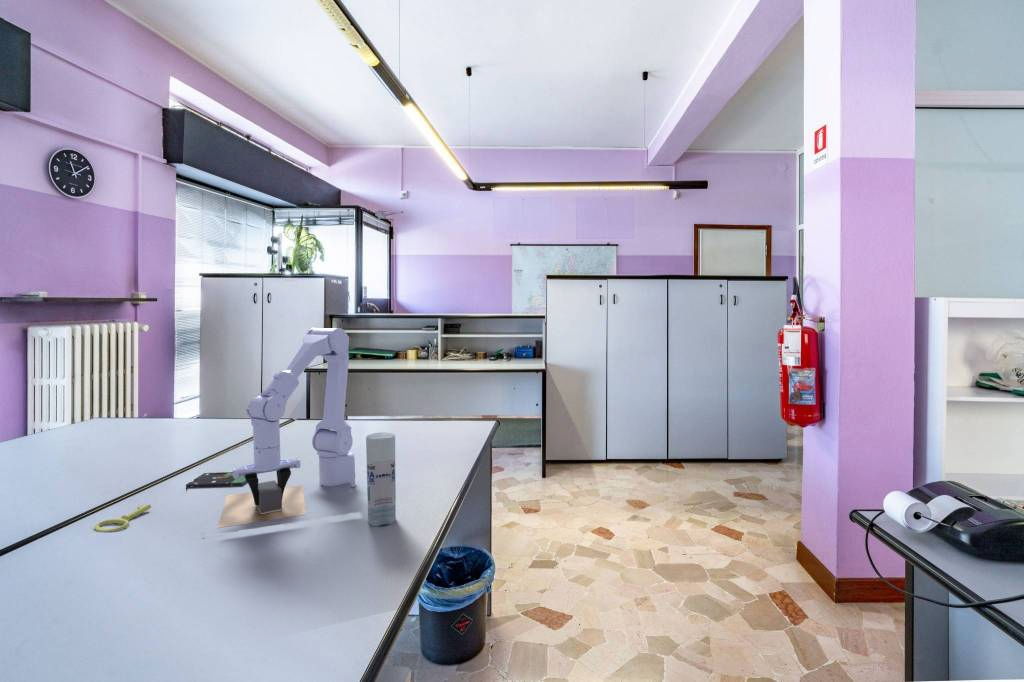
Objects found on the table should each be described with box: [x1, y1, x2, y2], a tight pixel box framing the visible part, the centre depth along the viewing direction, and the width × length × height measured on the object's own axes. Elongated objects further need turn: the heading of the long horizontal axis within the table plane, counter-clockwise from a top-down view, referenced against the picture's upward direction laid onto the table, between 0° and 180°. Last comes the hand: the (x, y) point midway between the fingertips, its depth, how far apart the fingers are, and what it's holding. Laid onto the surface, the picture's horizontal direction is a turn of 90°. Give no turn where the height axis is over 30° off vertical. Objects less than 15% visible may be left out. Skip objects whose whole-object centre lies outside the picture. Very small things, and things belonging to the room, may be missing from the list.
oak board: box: [217, 485, 307, 529], centre depth 125 cm, size 18×22×1 cm
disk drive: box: [185, 471, 258, 492], centre depth 143 cm, size 10×3×15 cm
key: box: [93, 503, 152, 533], centre depth 118 cm, size 7×12×2 cm, turn 8°
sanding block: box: [256, 480, 282, 514], centre depth 123 cm, size 4×8×5 cm, turn 35°
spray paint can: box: [365, 432, 397, 527], centre depth 118 cm, size 6×6×20 cm
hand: (268, 501), depth 123 cm, fingers closed on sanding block, 4 cm apart
